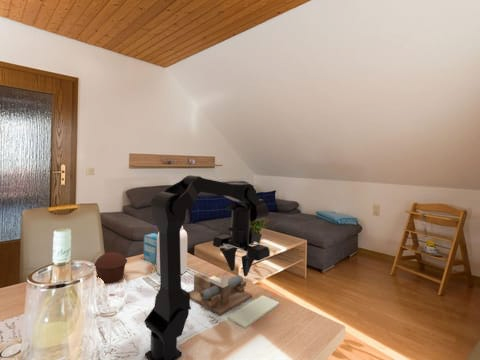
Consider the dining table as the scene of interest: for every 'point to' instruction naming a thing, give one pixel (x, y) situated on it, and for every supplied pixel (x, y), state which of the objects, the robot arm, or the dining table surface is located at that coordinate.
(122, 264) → the muffin
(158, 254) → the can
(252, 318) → the mat
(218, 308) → the cradle
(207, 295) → the grey rod
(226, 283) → the beige wooden bar
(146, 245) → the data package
